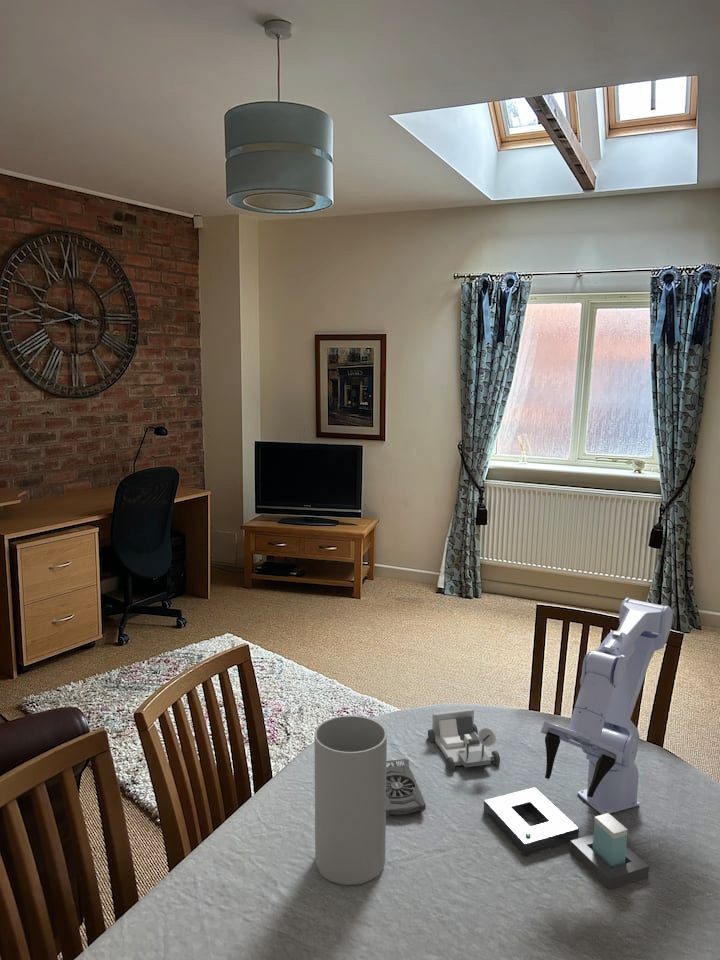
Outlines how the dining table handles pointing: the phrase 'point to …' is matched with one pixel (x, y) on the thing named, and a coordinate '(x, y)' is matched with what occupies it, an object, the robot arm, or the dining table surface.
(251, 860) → the dining table surface
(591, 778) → the robot arm
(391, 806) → the graphics card
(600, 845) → the plug
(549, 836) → the port panel
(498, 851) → the dining table surface
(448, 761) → the toy car
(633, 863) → the holster
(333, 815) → the cylinder vase
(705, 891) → the dining table surface
